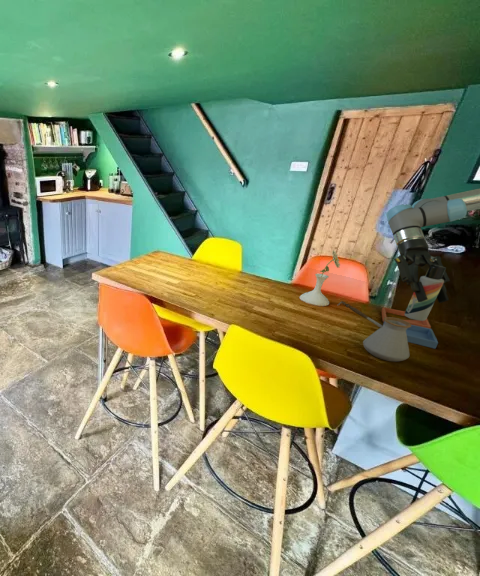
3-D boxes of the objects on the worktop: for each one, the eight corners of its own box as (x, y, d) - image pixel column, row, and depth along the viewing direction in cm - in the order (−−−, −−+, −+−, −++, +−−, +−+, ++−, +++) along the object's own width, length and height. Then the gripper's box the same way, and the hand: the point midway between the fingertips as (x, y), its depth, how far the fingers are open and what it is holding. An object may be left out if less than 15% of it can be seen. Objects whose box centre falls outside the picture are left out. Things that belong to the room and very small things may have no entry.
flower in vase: (318, 310, 132) (336, 256, 122) (293, 300, 142) (308, 249, 132) (335, 305, 137) (354, 252, 128) (310, 296, 147) (326, 246, 137)
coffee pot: (406, 356, 100) (426, 316, 94) (405, 371, 93) (426, 328, 87) (329, 331, 114) (342, 295, 108) (322, 343, 107) (336, 305, 101)
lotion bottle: (399, 313, 112) (421, 262, 104) (415, 313, 112) (438, 262, 104) (414, 321, 106) (438, 267, 99) (430, 321, 106) (456, 267, 99)
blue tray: (429, 334, 112) (432, 328, 111) (435, 348, 104) (438, 342, 103) (382, 324, 120) (385, 318, 119) (385, 336, 111) (387, 330, 110)
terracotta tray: (423, 320, 122) (425, 315, 121) (428, 332, 114) (431, 326, 113) (380, 312, 130) (382, 307, 129) (382, 322, 121) (384, 317, 120)
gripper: (429, 248, 114) (453, 305, 105) (375, 247, 116) (394, 303, 107) (449, 237, 107) (476, 298, 98) (391, 236, 109) (412, 295, 100)
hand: (433, 300), depth 103 cm, fingers closed on lotion bottle, 6 cm apart
